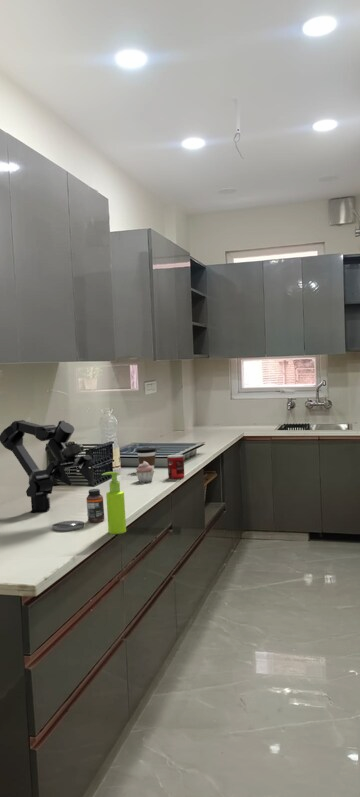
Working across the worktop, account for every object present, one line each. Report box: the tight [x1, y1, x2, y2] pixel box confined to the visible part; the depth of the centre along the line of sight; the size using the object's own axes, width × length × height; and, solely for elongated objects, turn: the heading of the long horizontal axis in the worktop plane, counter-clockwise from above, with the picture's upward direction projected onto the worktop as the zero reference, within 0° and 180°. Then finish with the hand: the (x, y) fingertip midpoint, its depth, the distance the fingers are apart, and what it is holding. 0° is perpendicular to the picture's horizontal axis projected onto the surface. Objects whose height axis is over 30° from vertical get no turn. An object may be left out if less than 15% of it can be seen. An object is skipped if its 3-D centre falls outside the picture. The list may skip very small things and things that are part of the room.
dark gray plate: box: [51, 520, 85, 533], centre depth 213 cm, size 11×11×1 cm
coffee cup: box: [135, 446, 157, 471], centre depth 325 cm, size 11×11×12 cm
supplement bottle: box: [86, 488, 105, 524], centre depth 220 cm, size 6×6×11 cm
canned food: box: [166, 453, 185, 480], centre depth 300 cm, size 8×8×11 cm
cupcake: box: [134, 461, 155, 483], centre depth 295 cm, size 9×9×10 cm
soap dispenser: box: [101, 471, 127, 535], centre depth 203 cm, size 6×7×20 cm
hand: (80, 482), depth 225 cm, fingers open, 9 cm apart
